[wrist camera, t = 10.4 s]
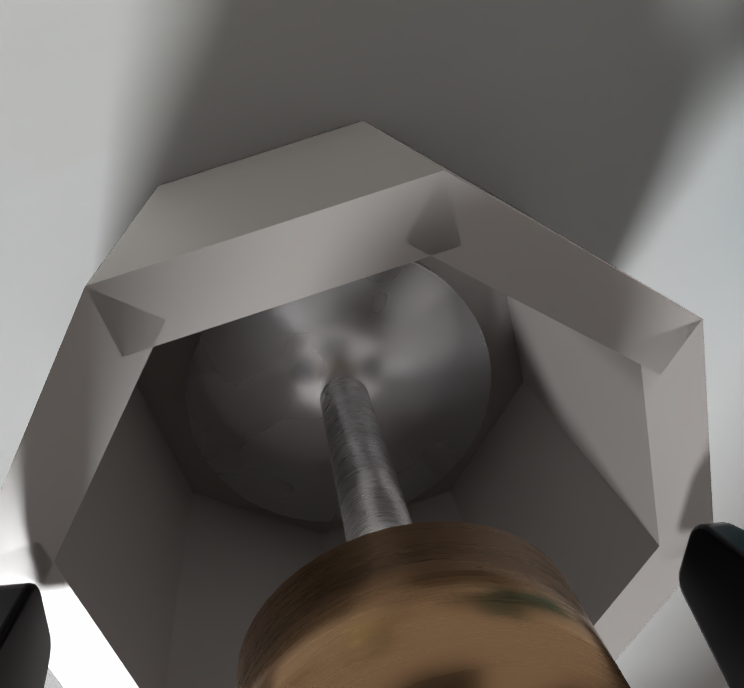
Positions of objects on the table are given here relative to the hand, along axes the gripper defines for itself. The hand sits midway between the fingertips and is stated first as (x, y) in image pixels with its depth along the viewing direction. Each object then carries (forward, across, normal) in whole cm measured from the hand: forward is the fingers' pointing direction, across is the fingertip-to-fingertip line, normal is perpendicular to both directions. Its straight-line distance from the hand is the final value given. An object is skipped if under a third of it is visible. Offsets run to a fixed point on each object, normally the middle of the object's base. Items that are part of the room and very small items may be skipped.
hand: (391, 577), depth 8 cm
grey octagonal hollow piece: (+6, 0, 0) cm, 6 cm away
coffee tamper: (+5, 0, 0) cm, 5 cm away
